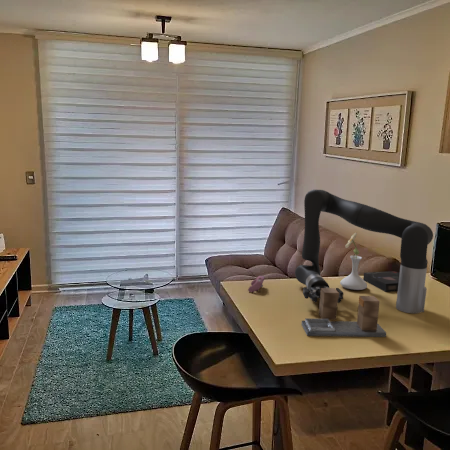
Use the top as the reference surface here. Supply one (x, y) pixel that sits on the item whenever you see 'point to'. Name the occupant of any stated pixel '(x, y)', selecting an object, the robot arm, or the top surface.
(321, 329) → the rail
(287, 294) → the top surface
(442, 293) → the top surface
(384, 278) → the portable cd player
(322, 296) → the walnut finger
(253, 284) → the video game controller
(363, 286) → the flower in vase
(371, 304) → the block
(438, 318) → the top surface
